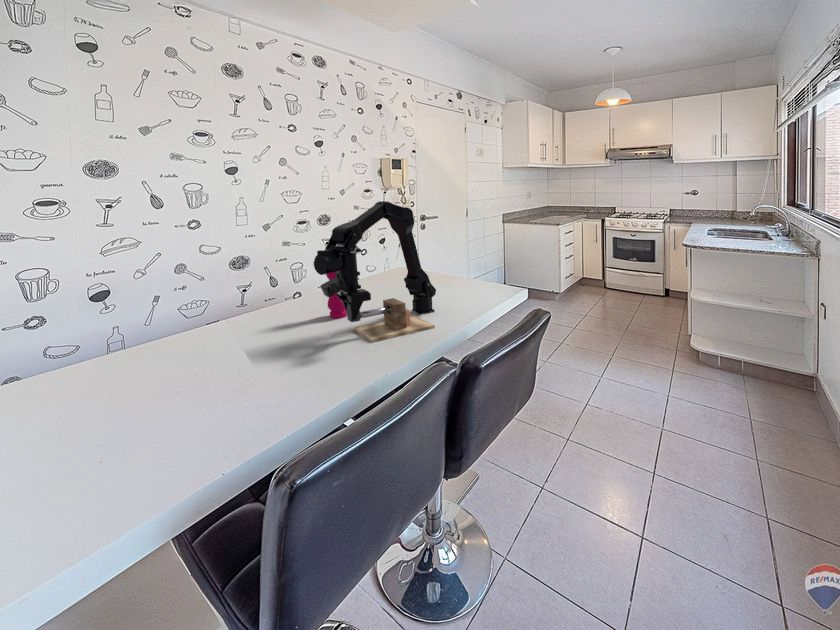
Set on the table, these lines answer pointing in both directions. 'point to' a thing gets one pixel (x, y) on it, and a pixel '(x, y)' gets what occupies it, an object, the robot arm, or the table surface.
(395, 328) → the bearing block
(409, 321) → the spacer
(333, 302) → the pepper mill
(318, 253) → the robot arm
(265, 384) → the table surface
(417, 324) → the base plate
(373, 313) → the shaft
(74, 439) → the table surface
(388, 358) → the table surface
